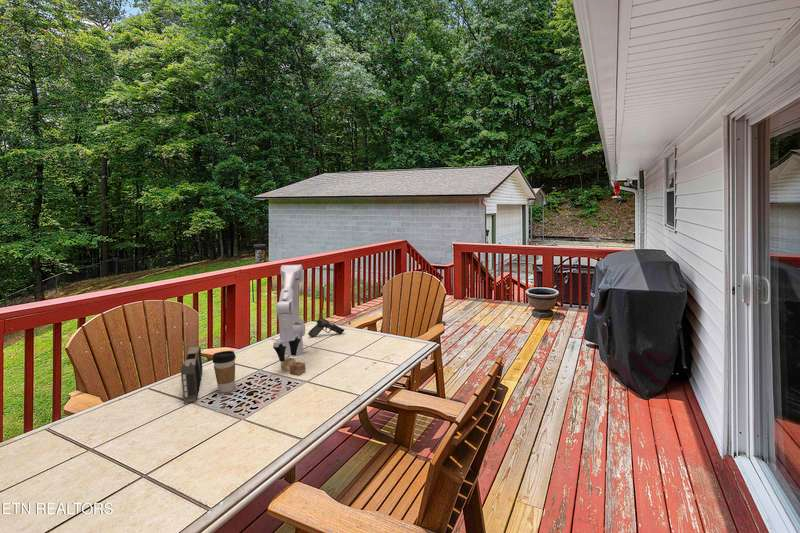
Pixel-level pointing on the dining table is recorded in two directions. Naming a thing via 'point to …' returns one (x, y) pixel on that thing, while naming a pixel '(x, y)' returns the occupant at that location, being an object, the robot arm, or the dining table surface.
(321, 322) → the handgun
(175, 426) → the dining table surface
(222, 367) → the coffee cup
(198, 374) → the graphics card
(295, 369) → the walnut block
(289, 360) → the maple block
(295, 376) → the board
